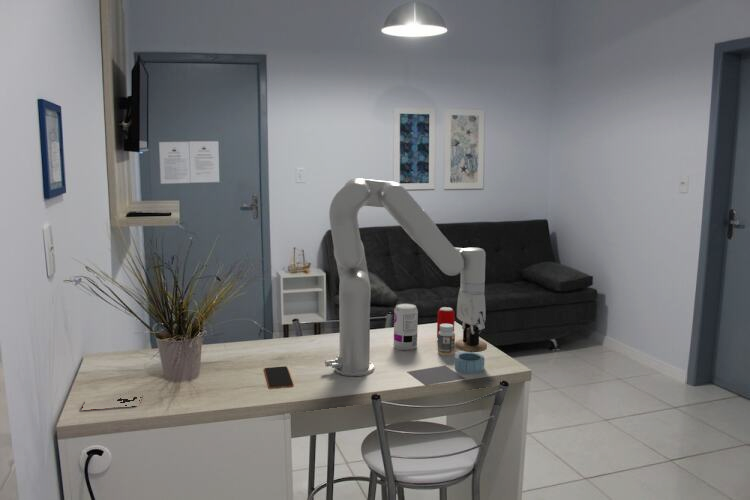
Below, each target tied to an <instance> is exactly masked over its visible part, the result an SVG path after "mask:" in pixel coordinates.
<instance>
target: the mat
mask: <svg viewBox="0 0 750 500" xmlns="http://www.w3.org/2000/svg"><path fill="white" fill-rule="evenodd" d="M406 373H408V375H411V376H412V377H413V379H416V381H418V382H420V383H422V384H423V385H424V386H425V387H426V386H430V385H436V384H442V383H446V382H447V383H449V382H453V381H458V380H464V379H466V378H465V377H464V376H463V375H461V374H460V373H458V372H456V371H454V370H453V369H451V368H450V367H448V366H447V365H439V366H434V367H428V368H421V369H417V370H410V371H406Z"/></svg>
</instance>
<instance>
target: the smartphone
mask: <svg viewBox="0 0 750 500" xmlns="http://www.w3.org/2000/svg"><path fill="white" fill-rule="evenodd" d="M263 372H264V376H265V379H267V380H266V383H268V384H267V386H268V389H269V388H276V389H282V388H281V387H287V388H293V386H294V387H295V385H294V382H293V379H292V376H291V374H290V373H291V372H290V369H289V368H288V366H285V365H284V366H283V365H282V366H274V367H263Z"/></svg>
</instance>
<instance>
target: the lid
mask: <svg viewBox="0 0 750 500" xmlns="http://www.w3.org/2000/svg"><path fill="white" fill-rule="evenodd" d="M474 329H475V327H474ZM470 333H471V328H467V336H466V342H465V343H464V342H463V339H459V340H457V341H456V340H455V347H454V348H455V349H457V350H458V351H461V352H472V353H479V352H480V353H482V352H485V351H486V350H487V349H488V348H487V347H488V344H487V343H486V342H485V341H482V340H480V339H479V345H475V346H470V345H469V343H470Z"/></svg>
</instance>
